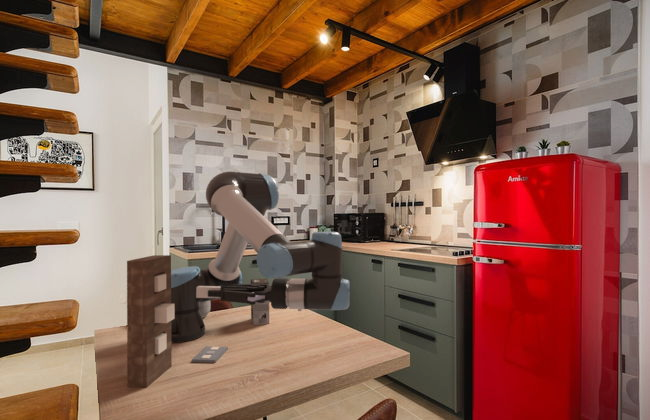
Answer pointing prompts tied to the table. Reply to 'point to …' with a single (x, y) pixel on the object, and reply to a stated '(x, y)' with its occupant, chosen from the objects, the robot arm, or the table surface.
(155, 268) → the switch panel
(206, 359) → the pattern card
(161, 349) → the bottom key
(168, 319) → the middle key
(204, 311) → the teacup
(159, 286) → the top key
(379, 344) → the table surface
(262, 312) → the coffee box
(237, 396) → the table surface
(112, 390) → the table surface
